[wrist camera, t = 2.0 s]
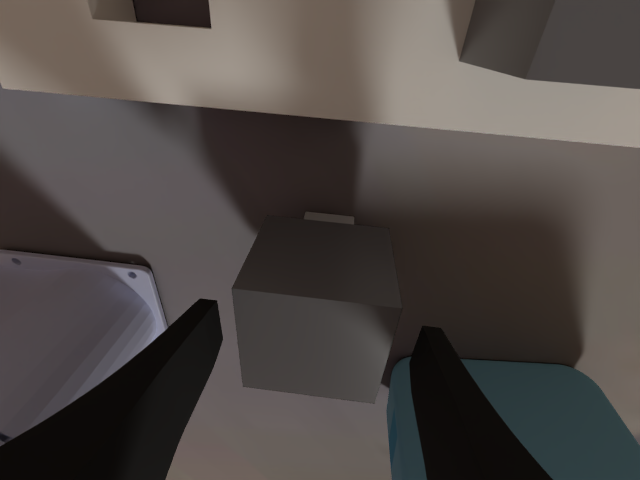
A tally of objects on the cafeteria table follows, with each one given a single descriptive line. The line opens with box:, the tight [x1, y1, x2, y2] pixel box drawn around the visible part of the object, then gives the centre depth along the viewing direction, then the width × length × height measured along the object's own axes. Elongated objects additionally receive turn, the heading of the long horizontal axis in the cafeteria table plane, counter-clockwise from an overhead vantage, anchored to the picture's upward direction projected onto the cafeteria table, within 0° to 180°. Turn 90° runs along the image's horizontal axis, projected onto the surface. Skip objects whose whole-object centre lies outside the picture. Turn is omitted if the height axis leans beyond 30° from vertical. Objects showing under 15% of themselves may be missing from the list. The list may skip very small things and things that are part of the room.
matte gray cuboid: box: [232, 212, 402, 404], centre depth 14 cm, size 5×5×7 cm
